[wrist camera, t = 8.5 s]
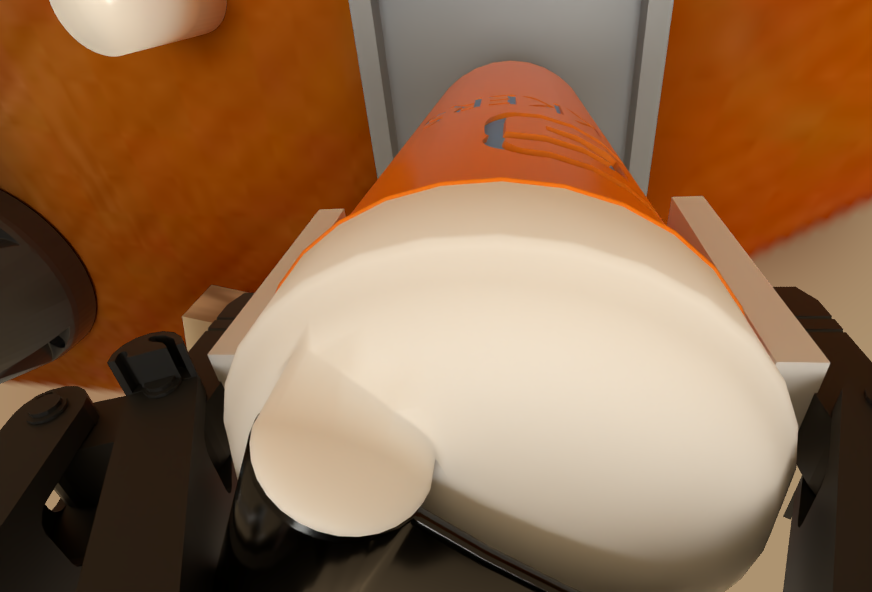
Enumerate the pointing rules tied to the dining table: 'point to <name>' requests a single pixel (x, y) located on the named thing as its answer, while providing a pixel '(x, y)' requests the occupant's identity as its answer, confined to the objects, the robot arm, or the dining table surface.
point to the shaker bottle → (503, 379)
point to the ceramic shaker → (136, 22)
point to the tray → (515, 41)
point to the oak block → (206, 311)
